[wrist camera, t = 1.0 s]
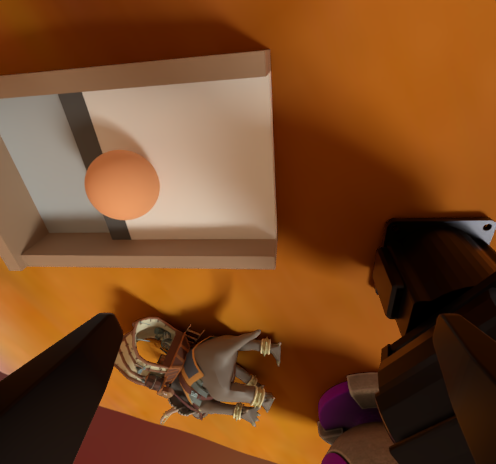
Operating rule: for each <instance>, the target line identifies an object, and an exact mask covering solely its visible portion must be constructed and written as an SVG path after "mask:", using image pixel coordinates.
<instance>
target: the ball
mask: <svg viewBox="0 0 496 464" xmlns="http://www.w3.org/2000/svg"><path fill="white" fill-rule="evenodd" d="M84 184H85V191H86V194H87V197H88V199H89V201H90V202H91V204H92V205H93V206H94V207H95V208H96V209H97V210H98V211H99V212H100V213H102V214H103V215H105V216H107V217H110V218H113V219H117V220H132V219H136V218H139V217H141V216H143V215H144V214H146V213H147V212H149V211H150V210H151V209H152V208H153V206H154V205H155V203H156V201H157V199H158V196H159V191H160V182H159V178H158V175H157V172H156V170H155V169H154V167H153V166H152V164H151V163H150V162H149V161H148V160H147V159H145V158H144V157H143V156H141V155H139V154H137V153H135V152H132V151H128V150H112V151H108V152H106V153H103V154H101V155H100V156H98V157H97V158H96V159H95V160H94V161H93V162H92V163H91V164H90V166H89V167H88V170H87V172H86V175H85V182H84Z"/></svg>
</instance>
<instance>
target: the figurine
mask: <svg viewBox="0 0 496 464" xmlns="http://www.w3.org/2000/svg"><path fill="white" fill-rule="evenodd" d="M132 326H134V328H133V330H132V331H130V332H129V333H127V334H125V335H123V340H122V343H121V346H120V349H119V352H118V355H117V358H116V361H115V364H114V366H115V367H116V368H117V369H118V370H119V371H120V372H121V373H122V374H123V375H124V376H125V377H126V378H127V379H129V380H130V381H132V382H134V383H136V384H139V385H143V386H147V387H148V388H149V389H153V390H156V391H157V394H158V395H160V396H163V397H165V398H169V399H168V401H169V404H171V406H172V407H173V406H174V407H173V408H171V409H169V410H168V411H165V413H164V414H163V416H162V417H161V421H160V424H162V421H163V420H164V419H165V418H167V419H168V418H169V416H170V415H171V414H173V413H175V412H178V413H179V414H180V415H184V416H188V415H190V414H192V415H193V416H194V417H195V418H197V419H200V420H202V419H203V417H205V416H207V415H208V414H214V413H217V414H227V415H233V418H236V421H237V420H238V419H239V420H240V419H241V418H242V419H245V420H246V421H248V422H250V423H251V424H252V425H253V426H254V427H256V424H255V421H259V419H258V418H257V416H260V414H259V413H258V412H257V411H258V410H259V409H261V408H260V407H261V405H262V406H263V407H264V408H265V410H266V412H267V413H268V411H269V410H270V407H271V405H272V403H273V401H274V399H275V398H274V396H273V395H272V393H267V392H265V389H264V388H263V387H264V386H265V385H261V384H260V383H258V382H257V381H258V379H257V378H256V375H255V376H253V375H250V374H249V373H248V372H247V371H246V370H245V369H243V368H242V367H240V366H238V365H236V361H237V354H238V350H239V351H249V350H256V351H260V353H261V354H262V353H263V355H264V356H265V355H266V354H268V355H269V354H270V353H271V354H273V356H274V357H275V359H276V360H277V361H276V362H277V365H278V366H279V364H280V354H281V347H280V345H281V342H279V343H278V344H272V343H271V339H268V337H266V338H265V339H263V338H262V340H257V339H254V338H257V337H258V336H259V334H260V333H261V330H256V331H254V332H252V333H246V334H242V335H239V336H233V335H223V336H220V337H215V336H209V337H207V338H206V339H204V340H202V341H201V342H199V343H198V344H197V345H195V346H194V347H192V346H193V345H194V344H195V343H196V341H197V340H198V339H199V338H200V336H201V335H202V334H203V333H204V331H205V329H204V330H203V332H202V333H201V334H199V333H197V332H194V331H192V330H189V328H190V326H191V324H190V325H189V327H188V328H187V330H186V331H185V332H184V333H182V332H181V331H179V330H178V329H175V328H174V327H172V326H171V325H170V324H168V323H167V322H166V321H164V320H162V319H161V318H159V317H145V318H141V319H138V320H137V321H135V322H133V324H132ZM187 331H189V332H191V333H194V334H196V335H199V337H198V338H197V339H196V338H194V337H191V336H189V335H186V334H185V333H186V332H187ZM187 337H188V338H191V339H193V340H195V342H194V343H193V342H190V341H188V340H187ZM147 338H153V339H157V340H158V341H159V340H160V341H162V342H164V343H163V344H162V342H161V347H162V348H164V346H166V345H167V346H166V347H165V348H164V349H166V348H167V347H168V348H167V349H166V350H168V352H166V351H164V350H163V349H162V348H160V349H161V350H162V351H164V352H165V353H166V354H167V355H162V354H161V356H160V358H159V360H158V362H157V364H156V363H152V362H149V361H146V360H145V359H143V358H142V357H141V356H139V353H138V351H137V346H136V342H138V341H140V340H144V339H147ZM144 341H148V340H144ZM148 342H150V341H148ZM189 343H190V344H192V346H190V345H189ZM164 344H165V345H164ZM163 345H164V346H163ZM235 376H236V377H237V378H239V379H240V380H242V381H243V382H244V383H246V384H245V385H244V384H240V383H237V382H235V383H234V380H235ZM171 382H172V383H171ZM169 383H171V384H169ZM164 385H166V386H167V387H164ZM169 387H170V388H169ZM220 401H225V402H238V403H237V404H236V405H230V404H225V403H222V402H220ZM239 402H240V403H239ZM241 402H246V403H250V405H251V406H252V405H254V407H246V406H244V404H243V405H242V403H241ZM167 419H165V420H167ZM164 422H165V421H163V424H164Z"/></svg>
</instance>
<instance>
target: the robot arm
mask: <svg viewBox="0 0 496 464" xmlns="http://www.w3.org/2000/svg"><path fill="white" fill-rule="evenodd" d="M486 224H488V225H487V226H486V227H483V226H484V225H486ZM393 225H397V226H396V227H395V228H391V226H393ZM495 229H496V223H495V222H494V221H493V220H492V219H491V218H488V217H473V218H394V219H390V220H388V221H387V222H386V224H385V229H384V235H383V241H382V246H381V247H379V248H378V249H377V251H376V257H375V263H374V269H373V275H372V277H373V280H374V283H375V287H374V288H375V292H376V294H377V295H379V298H380V300H381V303H382V306H383V309H384V312H385V315H386V316H387V317H388V318H389V319H396V322H397V325H398V328H399V330H400V333H401V336H402V337H401V338H400V339H398V340H397V341H396V342H394V343H393V344H391V345H390V344H388V345H387V346H385V347H384V348H382V353H381V364H380V367H379V370H378V386H379V391H378V392H376V394H375V400H376V404H377V407H378V410H379V413H380V416H381V419H382V422H383V424H384V427H385V429H386V431H387V433H388V435H389V437H390V438H391V440H392V442H393V443H394V444H393V445H391V446H389V452H390V454H391V455H392V456H393V458H394V459H395V460H396V461H397V463H398V464H496V252H495V251H494V250H493V249H492V248H491V247H490V246H489V244H490V242H491V239H492V236H493V234H494V231H495ZM122 340H123V330H122V328H121V326H120V324H119V322H118V320H117V318H116V316H115V315H114V314H113V313H99V314H97V315H96V316H94V317H93V318H91V319H90V320H89V321H87V322H86V323H84V324H83V325H81V326H80V327H78V328H77V329H75V330H74V331H73V332H71V333H70V334H68V335H67V336H65V337H64V338H62V339H61V340H59V341H58V342H57V343H55V344H54V345H52V346H51V347H49V348H48V349H46V350H45V351H43V352H42V353H41V354H39V355H38V356H36V357H35V358H33V359H32V360H30V361H29V362H28V363H26V364H25V365H23V366H22V367H20V368H19V369H17V370H16V371H14V372H13V373H12V374H10V375H9V376H7V377H6V378H4V379H3V380H1V381H0V464H73V462H74V459H75V457H76V455H77V453H78V450H79V448H80V446H81V444H82V441H83V439H84V437H85V435H86V432H87V430H88V428H89V425H90V423H91V421H92V419H93V417H94V414H95V412H96V410H97V408H98V405H99V403H100V401H101V399H102V396H103V394H104V392H105V389H106V387H107V384H108V381H109V378H110V376H111V373H112V370H113V367H114V364H115V361H116V358H117V355H118V352H119V349H120V346H121V343H122Z"/></svg>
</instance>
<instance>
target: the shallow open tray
mask: <svg viewBox="0 0 496 464" xmlns="http://www.w3.org/2000/svg"><path fill="white" fill-rule="evenodd" d="M112 150H128V151H132V152H135V153H137V154H139V155H141V156H143V157H144V158H145V159H147V160H148V161H149V162H150V163H151V164H152V166H153V167H154V169H155V170H156V172H157V175H158V178H159V182H160V191H159V196H158V199H157V201H156V203H155V205H154V206H153V208H152V209H151V210H150V211H149V212H147V213H146V214H144V215H143V216H141V217H139V218H136V219H132V220H117V219H113V218H110V217H107V216H105V215H103V214H102V213H100V212H99V211H98V210H97V209H96V208H95V207H94V206H93V205H92V204H91V202H90V201H89V199H88V197H87V194H86V191H85V184H84V182H85V175H86V172H87V170H88V167H89V166H90V164H91V163H92V162H93V161H94V160H95V159H96V158H97V157H98V156H100V155H101V154H103V153H106V152H108V151H112ZM277 241H278V236H277V211H276V186H275V161H274V136H273V111H272V86H271V61H270V49H269V50H258V51H248V52H238V53H228V54H217V55H207V56H197V57H186V58H176V59H166V60H155V61H145V62H135V63H125V64H114V65H104V66H94V67H83V68H73V69H63V70H52V71H42V72H32V73H21V74H11V75H1V76H0V256H1V258H2V259H3V261H4V262H5V264H6V266H7V267H8V269H9V270H10V271H22V270H23V269H24V268H26V267H27V266H37V267H122V268H206V269H275V267H276V254H277Z"/></svg>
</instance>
